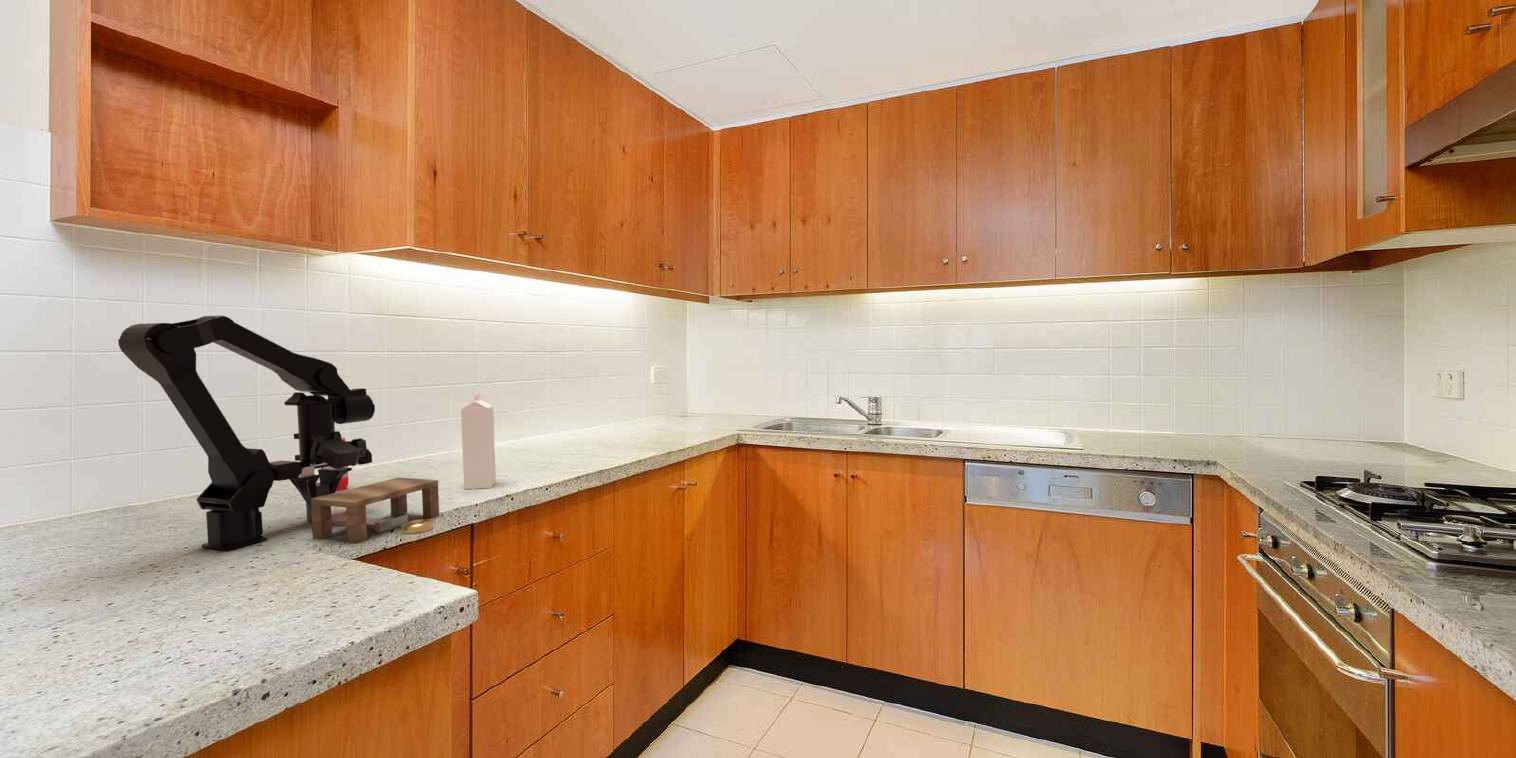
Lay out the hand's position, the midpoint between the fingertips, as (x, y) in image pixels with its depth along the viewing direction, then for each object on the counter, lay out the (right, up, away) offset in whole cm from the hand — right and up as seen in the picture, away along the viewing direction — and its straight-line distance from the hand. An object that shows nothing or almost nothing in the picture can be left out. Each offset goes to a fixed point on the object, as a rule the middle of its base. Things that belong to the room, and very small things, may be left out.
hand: (320, 507), depth 121 cm
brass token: (+22, -3, -7) cm, 23 cm away
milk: (+18, -1, +29) cm, 34 cm away
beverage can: (-15, -1, +27) cm, 31 cm away
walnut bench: (+14, -3, -4) cm, 15 cm away
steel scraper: (+8, -3, -2) cm, 9 cm away
